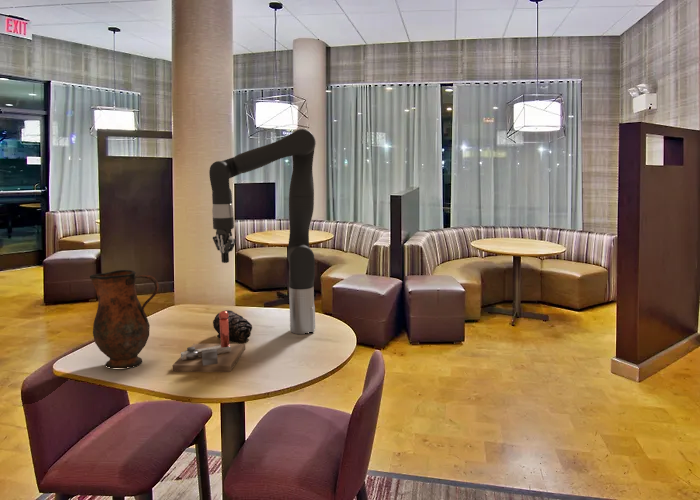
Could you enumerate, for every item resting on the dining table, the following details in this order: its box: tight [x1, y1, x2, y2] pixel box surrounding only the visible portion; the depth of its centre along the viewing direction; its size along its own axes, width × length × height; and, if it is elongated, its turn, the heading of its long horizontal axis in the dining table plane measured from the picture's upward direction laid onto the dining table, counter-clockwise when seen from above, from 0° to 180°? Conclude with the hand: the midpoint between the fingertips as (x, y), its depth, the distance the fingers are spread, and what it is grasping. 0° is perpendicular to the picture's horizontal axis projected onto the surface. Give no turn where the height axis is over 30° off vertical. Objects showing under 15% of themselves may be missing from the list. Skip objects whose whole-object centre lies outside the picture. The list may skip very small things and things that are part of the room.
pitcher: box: [89, 269, 160, 369], centre depth 170 cm, size 17×21×30 cm
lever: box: [180, 310, 231, 360], centre depth 173 cm, size 16×4×14 cm, turn 119°
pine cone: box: [212, 309, 253, 345], centre depth 197 cm, size 10×18×10 cm, turn 56°
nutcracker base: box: [171, 343, 247, 373], centre depth 175 cm, size 18×20×6 cm
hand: (225, 262), depth 200 cm, fingers closed
